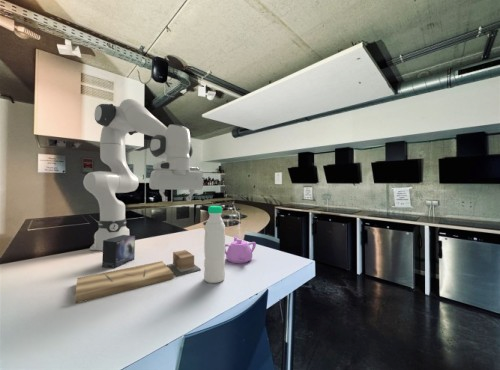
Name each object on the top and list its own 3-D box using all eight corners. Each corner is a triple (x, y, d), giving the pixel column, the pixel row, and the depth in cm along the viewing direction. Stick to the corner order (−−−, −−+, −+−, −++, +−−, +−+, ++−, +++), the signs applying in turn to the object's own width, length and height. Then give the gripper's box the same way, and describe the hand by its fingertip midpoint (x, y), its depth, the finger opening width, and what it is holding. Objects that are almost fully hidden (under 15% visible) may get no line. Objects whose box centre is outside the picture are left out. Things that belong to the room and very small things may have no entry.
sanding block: (173, 264, 84) (173, 252, 84) (185, 262, 87) (185, 249, 87) (180, 272, 77) (181, 258, 77) (194, 268, 80) (194, 255, 80)
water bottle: (199, 279, 72) (200, 206, 72) (216, 273, 77) (216, 204, 77) (212, 286, 67) (213, 207, 67) (229, 279, 72) (229, 206, 73)
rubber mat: (166, 266, 84) (166, 264, 84) (188, 261, 89) (188, 260, 89) (176, 276, 74) (176, 274, 74) (200, 270, 80) (200, 269, 80)
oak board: (77, 284, 68) (77, 278, 68) (161, 266, 84) (162, 261, 84) (75, 303, 57) (75, 295, 57) (173, 278, 73) (173, 272, 73)
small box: (115, 268, 81) (115, 241, 81) (101, 267, 82) (101, 240, 82) (135, 259, 91) (135, 235, 91) (122, 258, 93) (123, 234, 93)
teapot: (234, 253, 101) (234, 234, 101) (260, 258, 93) (260, 238, 94) (218, 260, 90) (218, 240, 91) (245, 267, 83) (246, 244, 83)
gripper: (199, 168, 92) (198, 200, 92) (148, 164, 79) (147, 201, 79) (206, 167, 87) (205, 201, 87) (152, 163, 74) (151, 202, 74)
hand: (177, 201), depth 83 cm, fingers open, 8 cm apart
